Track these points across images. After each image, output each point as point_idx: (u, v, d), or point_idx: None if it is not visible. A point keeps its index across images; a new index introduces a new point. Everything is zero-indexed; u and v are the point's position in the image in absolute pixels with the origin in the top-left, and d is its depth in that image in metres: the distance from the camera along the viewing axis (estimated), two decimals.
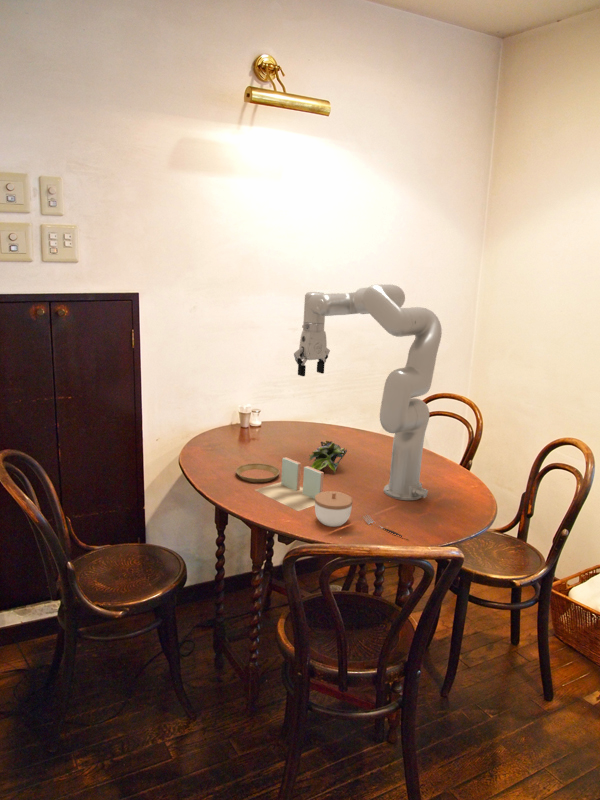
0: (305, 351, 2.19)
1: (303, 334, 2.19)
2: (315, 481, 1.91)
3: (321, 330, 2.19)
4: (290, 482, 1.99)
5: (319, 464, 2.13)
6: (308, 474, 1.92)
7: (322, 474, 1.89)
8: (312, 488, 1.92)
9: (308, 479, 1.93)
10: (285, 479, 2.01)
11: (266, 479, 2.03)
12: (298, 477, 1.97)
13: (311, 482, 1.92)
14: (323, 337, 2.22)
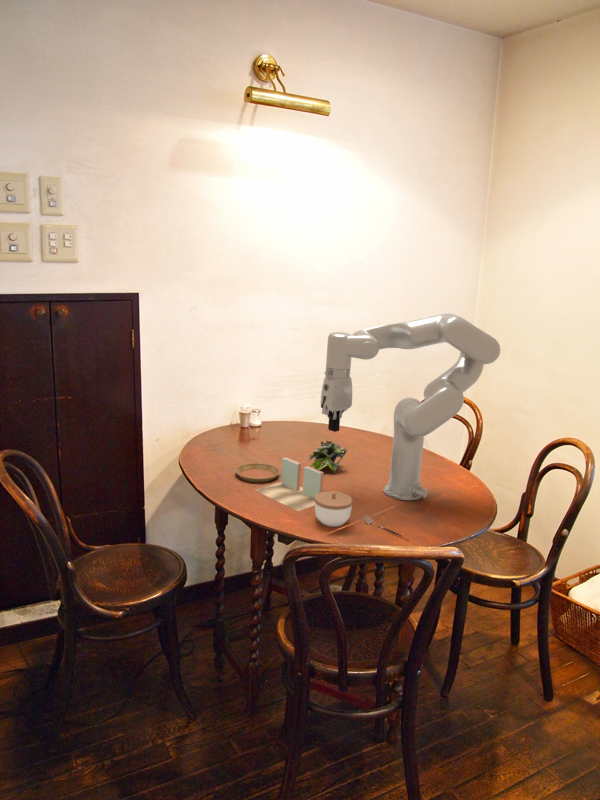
0: (328, 402, 1.87)
1: (326, 382, 1.88)
2: (315, 481, 1.91)
3: (347, 377, 1.88)
4: (290, 482, 1.99)
5: (319, 464, 2.13)
6: (308, 474, 1.92)
7: (322, 474, 1.89)
8: (312, 488, 1.92)
9: (308, 479, 1.93)
10: (285, 479, 2.01)
11: (266, 479, 2.03)
12: (298, 477, 1.97)
13: (311, 482, 1.92)
14: (349, 384, 1.91)
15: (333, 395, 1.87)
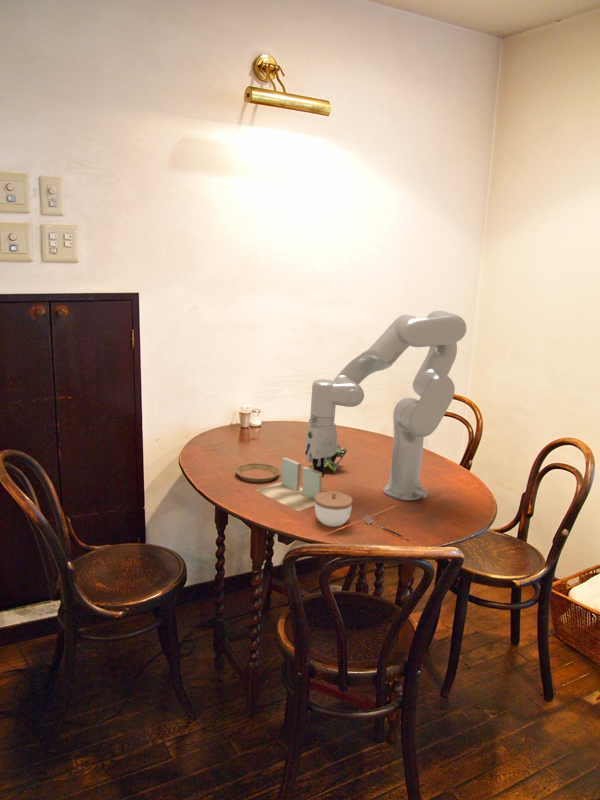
0: (312, 449, 1.87)
1: (310, 429, 1.87)
2: (314, 481, 1.90)
3: (331, 425, 1.87)
4: (290, 482, 1.99)
5: None
6: (307, 474, 1.92)
7: (321, 474, 1.89)
8: (312, 489, 1.92)
9: (307, 479, 1.92)
10: (285, 479, 2.01)
11: (266, 479, 2.03)
12: (298, 477, 1.97)
13: (310, 482, 1.92)
14: (333, 431, 1.90)
15: (317, 443, 1.86)
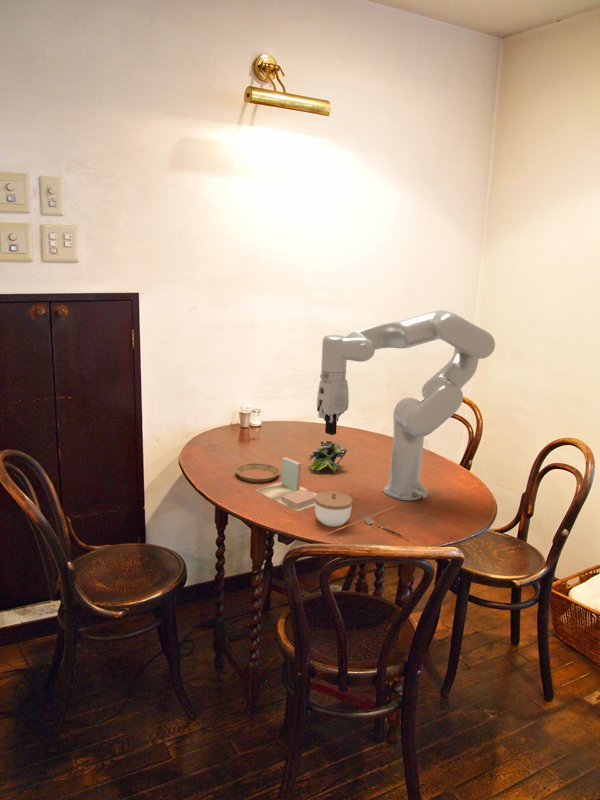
0: (324, 405, 1.86)
1: (321, 385, 1.86)
2: None
3: (342, 380, 1.86)
4: (290, 482, 1.99)
5: (319, 464, 2.13)
6: None
7: (298, 504, 1.85)
8: None
9: None
10: (285, 479, 2.01)
11: (266, 479, 2.03)
12: (298, 477, 1.97)
13: None
14: (345, 387, 1.89)
15: (329, 398, 1.85)
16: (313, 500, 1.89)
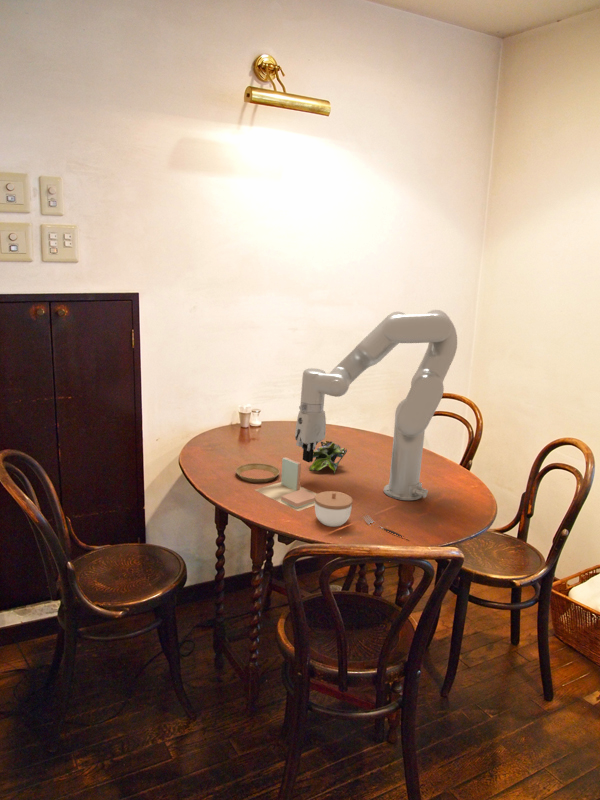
0: (302, 434, 1.97)
1: (300, 415, 1.98)
2: None
3: (320, 411, 1.98)
4: (290, 482, 1.99)
5: (319, 464, 2.13)
6: None
7: (298, 504, 1.85)
8: None
9: None
10: (285, 479, 2.01)
11: (266, 479, 2.03)
12: (298, 477, 1.97)
13: None
14: (322, 418, 2.01)
15: (307, 428, 1.97)
16: (313, 500, 1.89)
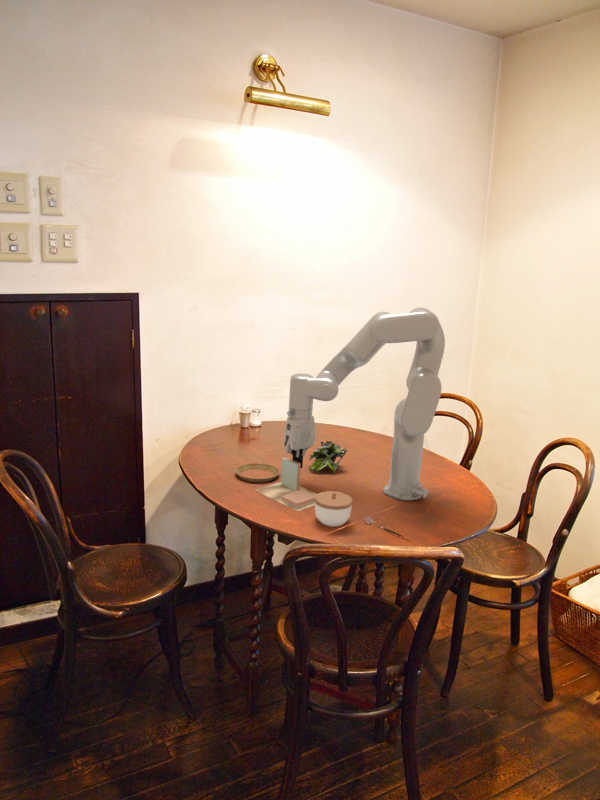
0: (290, 441, 1.94)
1: (288, 421, 1.94)
2: None
3: (308, 417, 1.94)
4: (290, 482, 1.99)
5: (319, 464, 2.13)
6: None
7: (298, 504, 1.85)
8: None
9: None
10: (285, 479, 2.01)
11: (266, 479, 2.03)
12: (298, 477, 1.97)
13: None
14: (311, 424, 1.97)
15: (295, 435, 1.94)
16: (313, 500, 1.89)
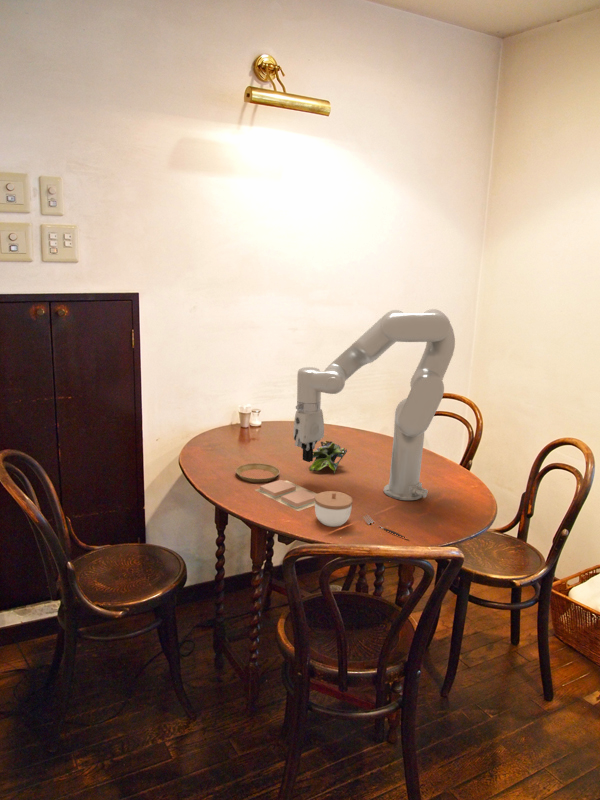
0: (300, 434, 1.96)
1: (297, 415, 1.96)
2: None
3: (317, 410, 1.96)
4: None
5: (319, 464, 2.13)
6: None
7: (298, 504, 1.85)
8: None
9: None
10: None
11: (266, 479, 2.03)
12: (285, 491, 1.94)
13: None
14: (320, 416, 1.99)
15: (304, 428, 1.95)
16: (313, 500, 1.89)
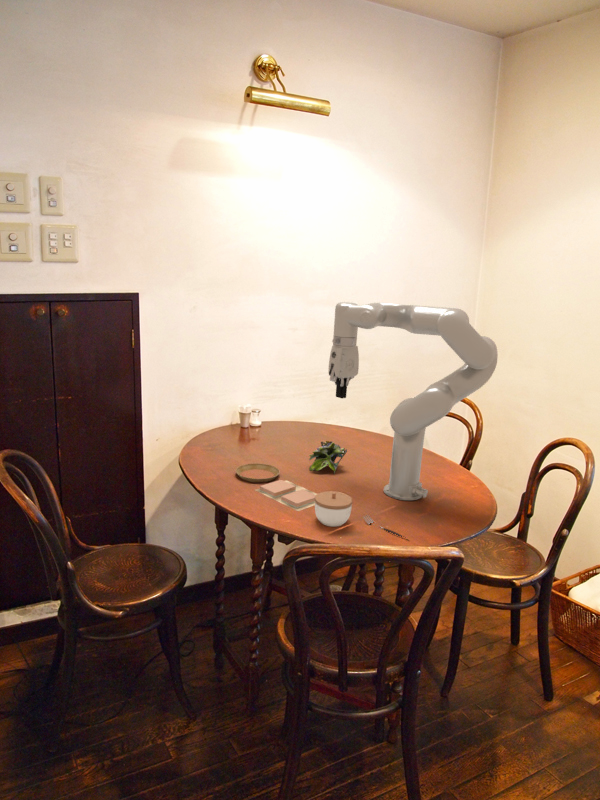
0: (336, 368, 1.96)
1: (333, 349, 1.96)
2: None
3: (353, 345, 1.96)
4: None
5: (319, 464, 2.13)
6: None
7: (298, 504, 1.85)
8: None
9: None
10: None
11: (266, 479, 2.03)
12: (285, 491, 1.94)
13: None
14: (355, 353, 1.99)
15: (340, 362, 1.95)
16: (313, 500, 1.89)
